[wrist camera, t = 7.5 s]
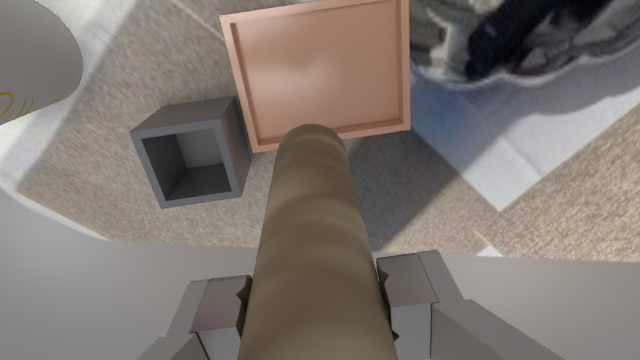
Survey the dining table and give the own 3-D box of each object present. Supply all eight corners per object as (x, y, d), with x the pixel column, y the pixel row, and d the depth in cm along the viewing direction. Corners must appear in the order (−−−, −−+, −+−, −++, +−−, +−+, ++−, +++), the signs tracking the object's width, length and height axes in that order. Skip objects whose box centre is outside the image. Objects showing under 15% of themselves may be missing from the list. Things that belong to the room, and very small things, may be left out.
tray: (400, -12, 27) (408, -13, 25) (403, 122, 32) (410, 129, 30) (224, 14, 27) (219, 15, 25) (255, 144, 32) (252, 153, 30)
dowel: (342, 118, 15) (425, 407, 4) (348, 182, 17) (423, 508, 6) (270, 129, 15) (187, 433, 5) (283, 191, 17) (244, 526, 6)
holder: (234, 96, 30) (219, 118, 24) (250, 162, 33) (241, 196, 27) (161, 107, 30) (129, 132, 24) (184, 172, 33) (160, 209, 27)
